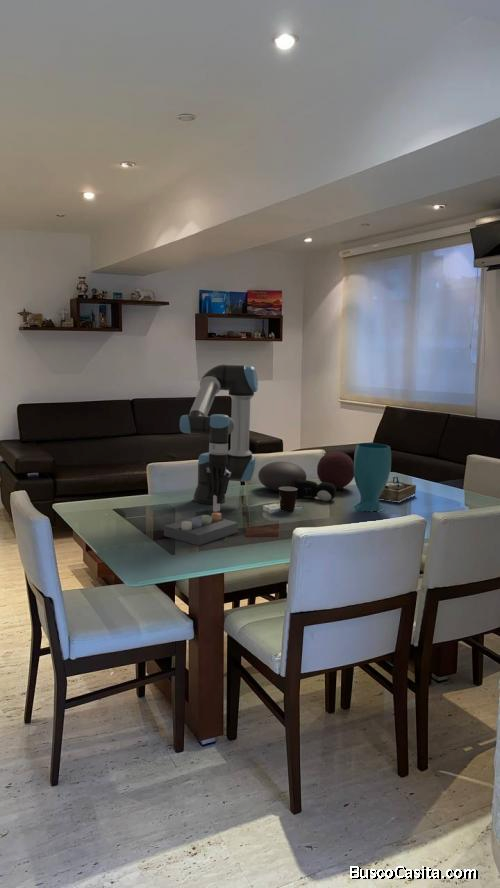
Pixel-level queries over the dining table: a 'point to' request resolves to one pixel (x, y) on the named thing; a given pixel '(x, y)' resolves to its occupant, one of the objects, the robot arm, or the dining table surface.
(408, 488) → the camera caddy
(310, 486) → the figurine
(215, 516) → the button terracotta
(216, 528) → the console
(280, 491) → the coffee mug
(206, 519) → the button sage
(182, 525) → the button ivory
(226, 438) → the robot arm
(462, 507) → the dining table surface
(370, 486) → the vase
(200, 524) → the button slate
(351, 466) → the decorative sphere
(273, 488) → the smooth stone
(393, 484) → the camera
